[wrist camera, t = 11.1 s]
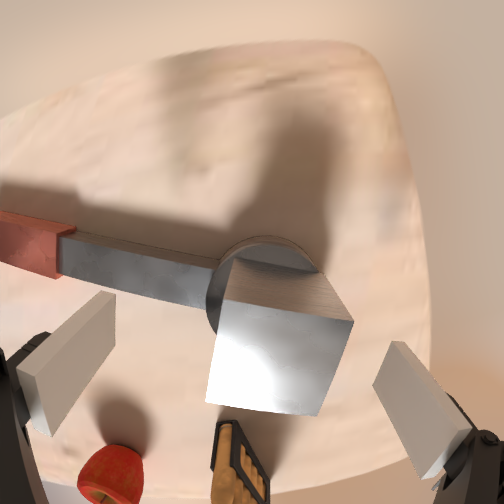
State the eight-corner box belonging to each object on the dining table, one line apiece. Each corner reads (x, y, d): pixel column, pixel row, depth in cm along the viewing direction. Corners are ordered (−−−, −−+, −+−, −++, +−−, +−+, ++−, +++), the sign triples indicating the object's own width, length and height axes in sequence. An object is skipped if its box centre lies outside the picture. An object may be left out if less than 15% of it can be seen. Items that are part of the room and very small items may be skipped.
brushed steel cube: (220, 336, 18) (205, 401, 12) (234, 256, 17) (223, 298, 11) (301, 350, 18) (316, 416, 12) (323, 273, 17) (354, 321, 11)
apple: (131, 430, 24) (106, 487, 17) (164, 467, 26) (148, 522, 18) (87, 433, 25) (59, 482, 18) (119, 469, 26) (100, 517, 19)
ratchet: (-1, 267, 21) (-50, 290, 14) (-1, 188, 19) (-56, 196, 13) (303, 341, 21) (318, 400, 15) (329, 247, 20) (361, 280, 13)
